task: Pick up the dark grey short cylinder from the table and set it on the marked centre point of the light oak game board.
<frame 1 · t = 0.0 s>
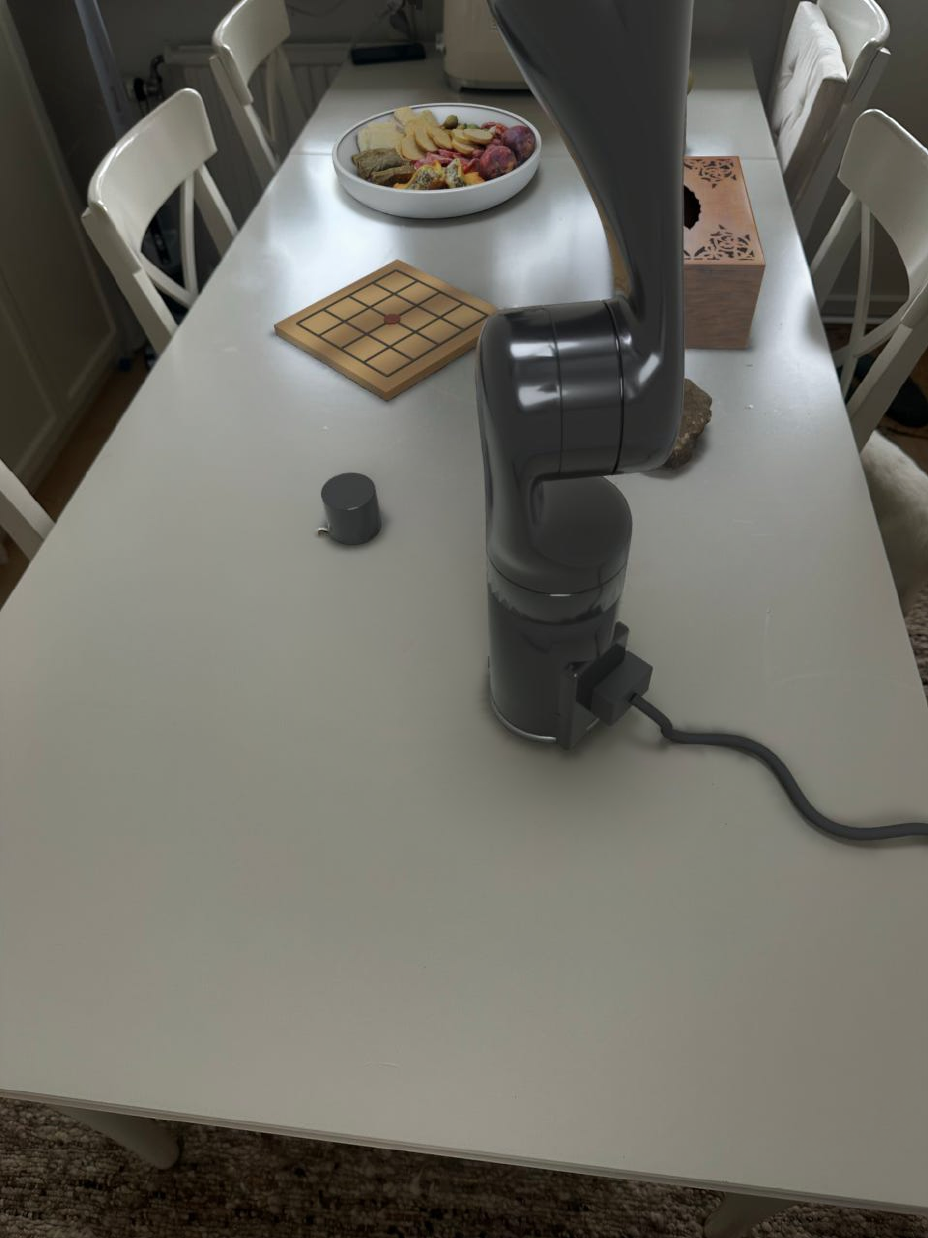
hand: (464, 1, 80), 31 cm above the table, tool tilted 20°, fingers open, 8 cm apart
stone: (630, 435, 89), on the table
board: (393, 328, 103), on the table
dark grey short cylinder: (355, 525, 82), on the table
tissue box cover: (673, 288, 106), on the table
bowl: (438, 180, 127), on the table
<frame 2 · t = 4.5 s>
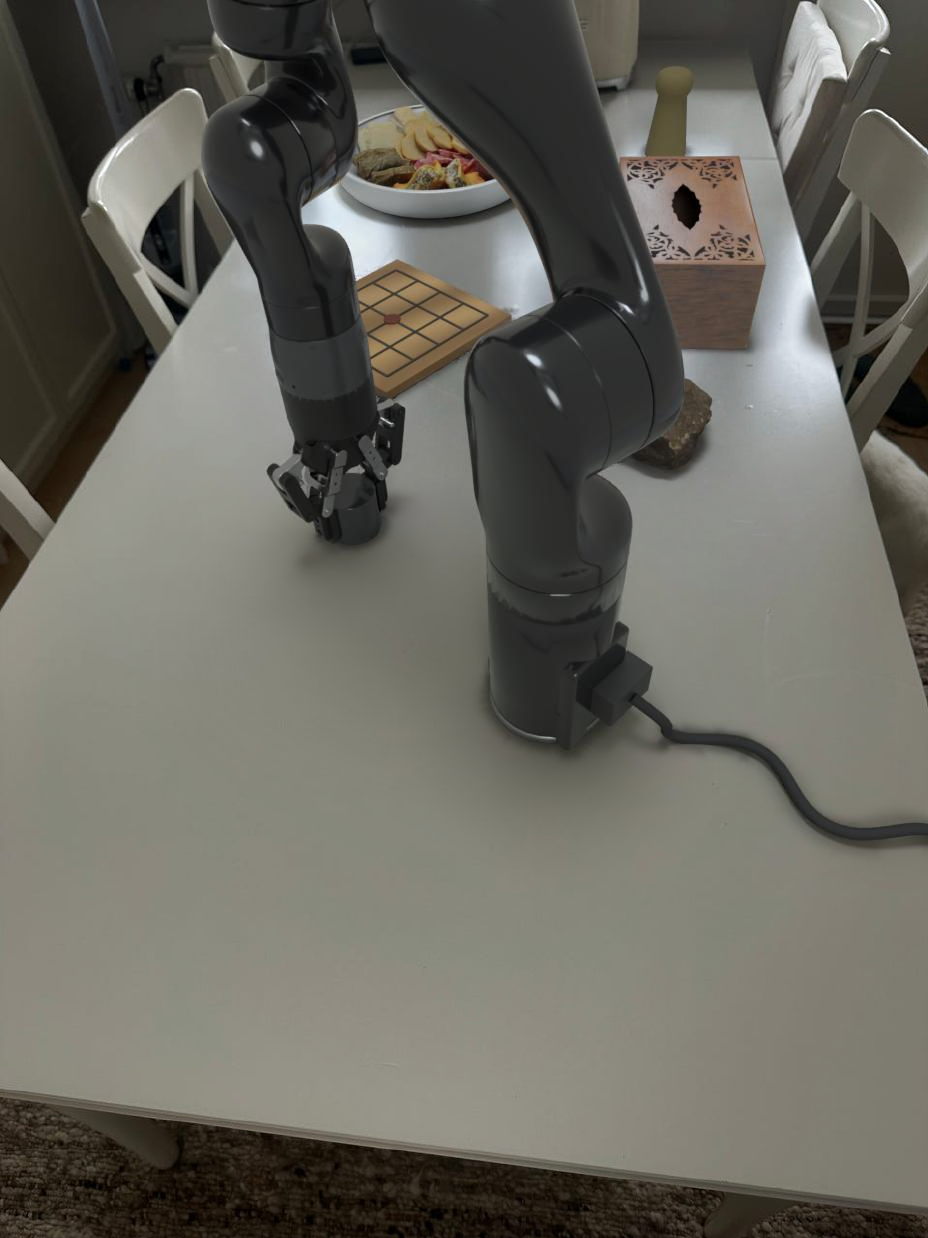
hand: (354, 520, 81), 1 cm above the table, tool pointing down, fingers closed on dark grey short cylinder, 5 cm apart
dark grey short cylinder: (355, 526, 82), on the table, touching gripper
everything else where it was.
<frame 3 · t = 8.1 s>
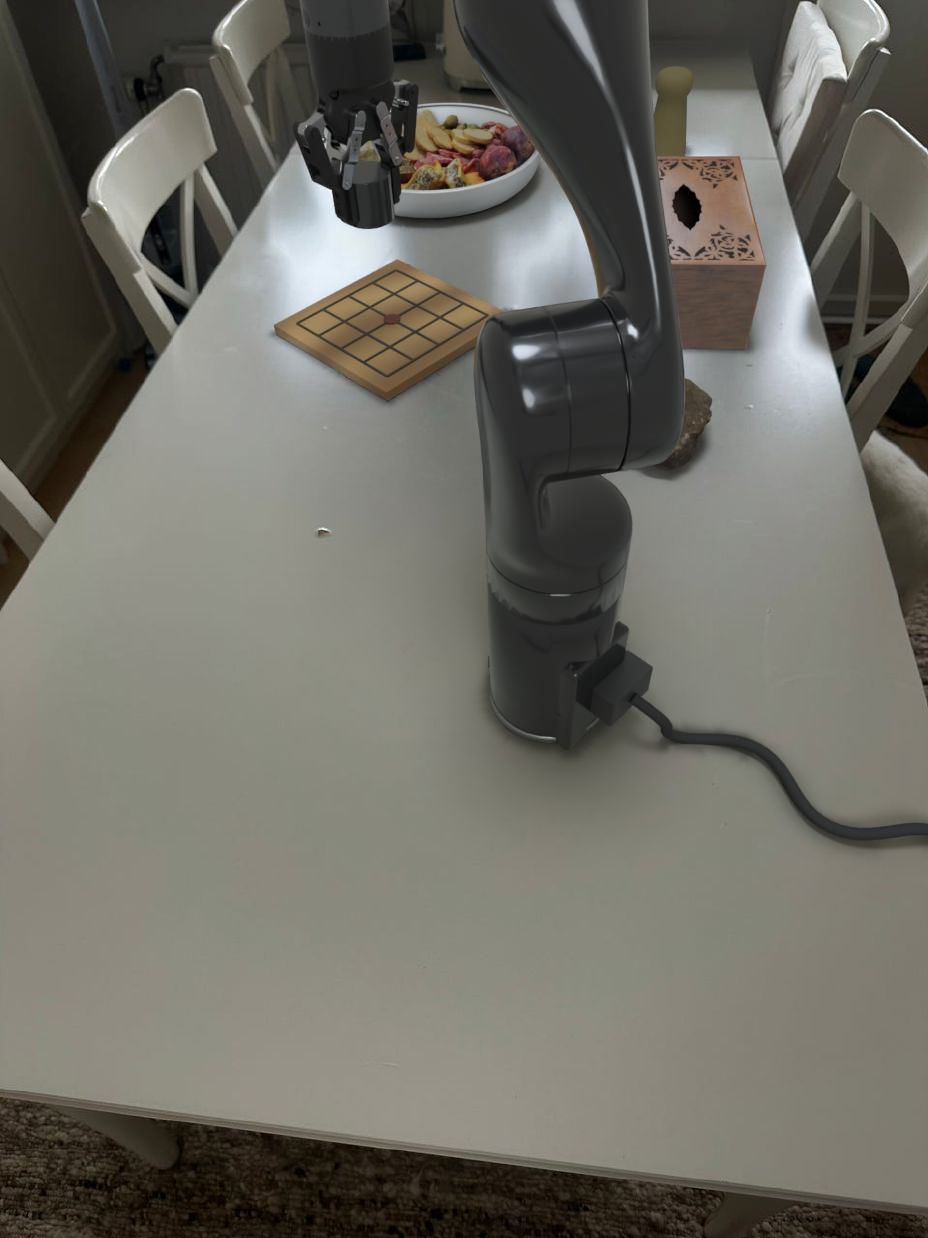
hand: (370, 210, 88), 16 cm above the table, tool pointing down, fingers closed on dark grey short cylinder, 5 cm apart
dark grey short cylinder: (370, 217, 88), point 15 cm above the table, touching gripper
everything else where it was.
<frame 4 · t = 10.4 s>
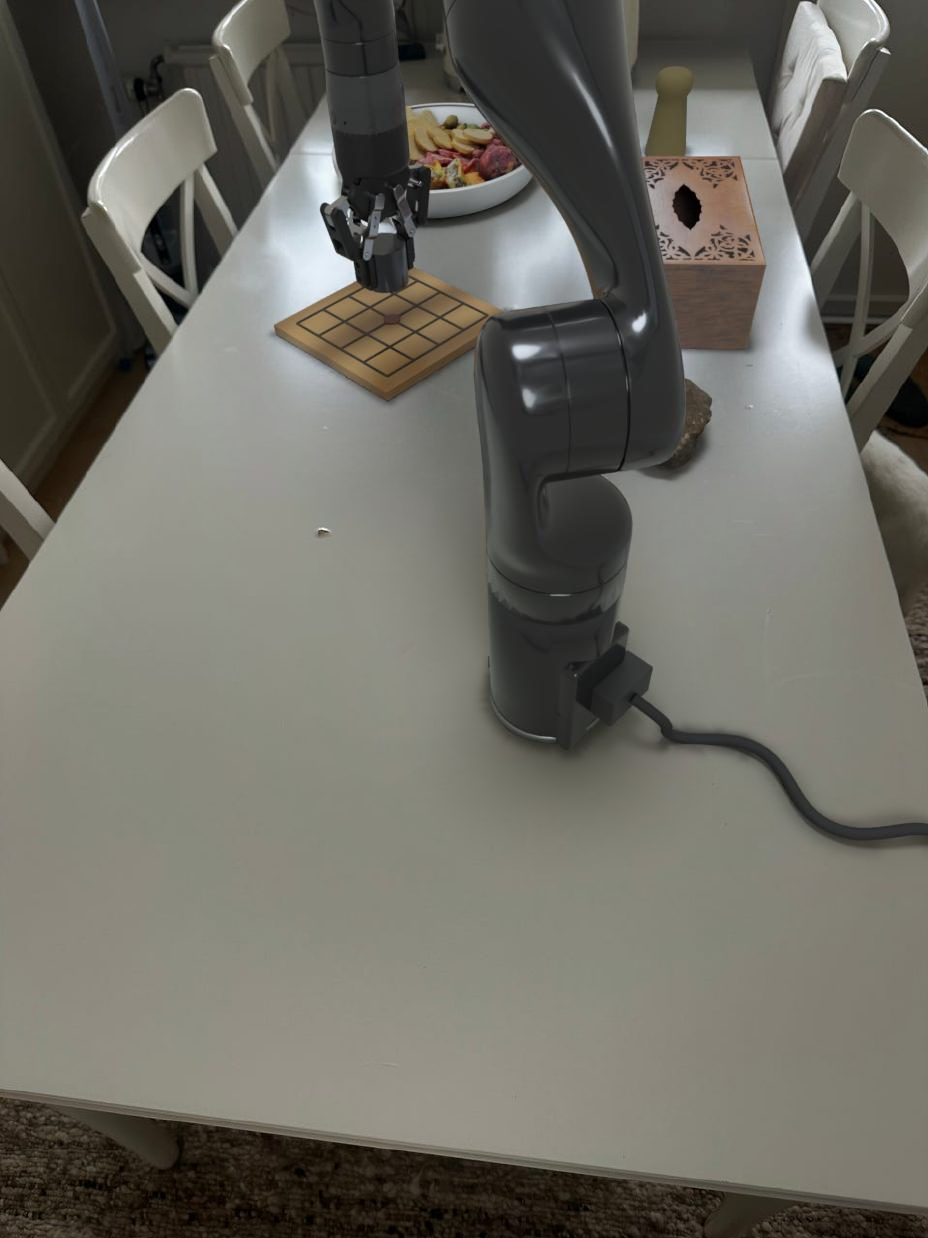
hand: (387, 276, 98), 7 cm above the table, tool pointing down, fingers closed on dark grey short cylinder, 5 cm apart
dark grey short cylinder: (387, 281, 98), point 6 cm above the table, touching gripper
everything else where it was.
when the fingers open (2 cm above the table, at t = 12.0 s): dark grey short cylinder stays where it is, resting on board.
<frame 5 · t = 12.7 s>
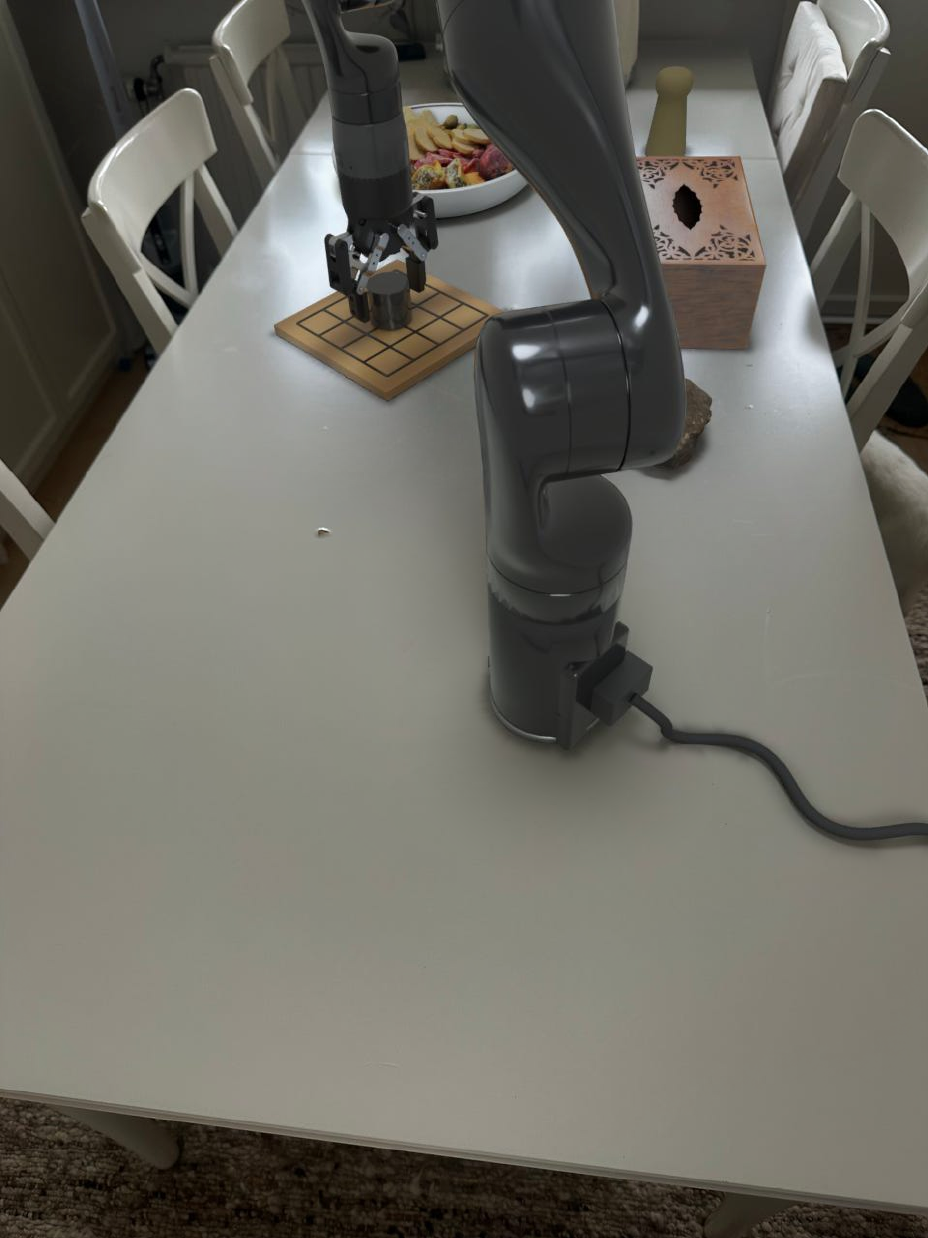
hand: (390, 304, 100), 3 cm above the table, tool pointing down, fingers open, 8 cm apart
dark grey short cylinder: (391, 318, 102), point 1 cm above the table, touching board
everything else where it was.
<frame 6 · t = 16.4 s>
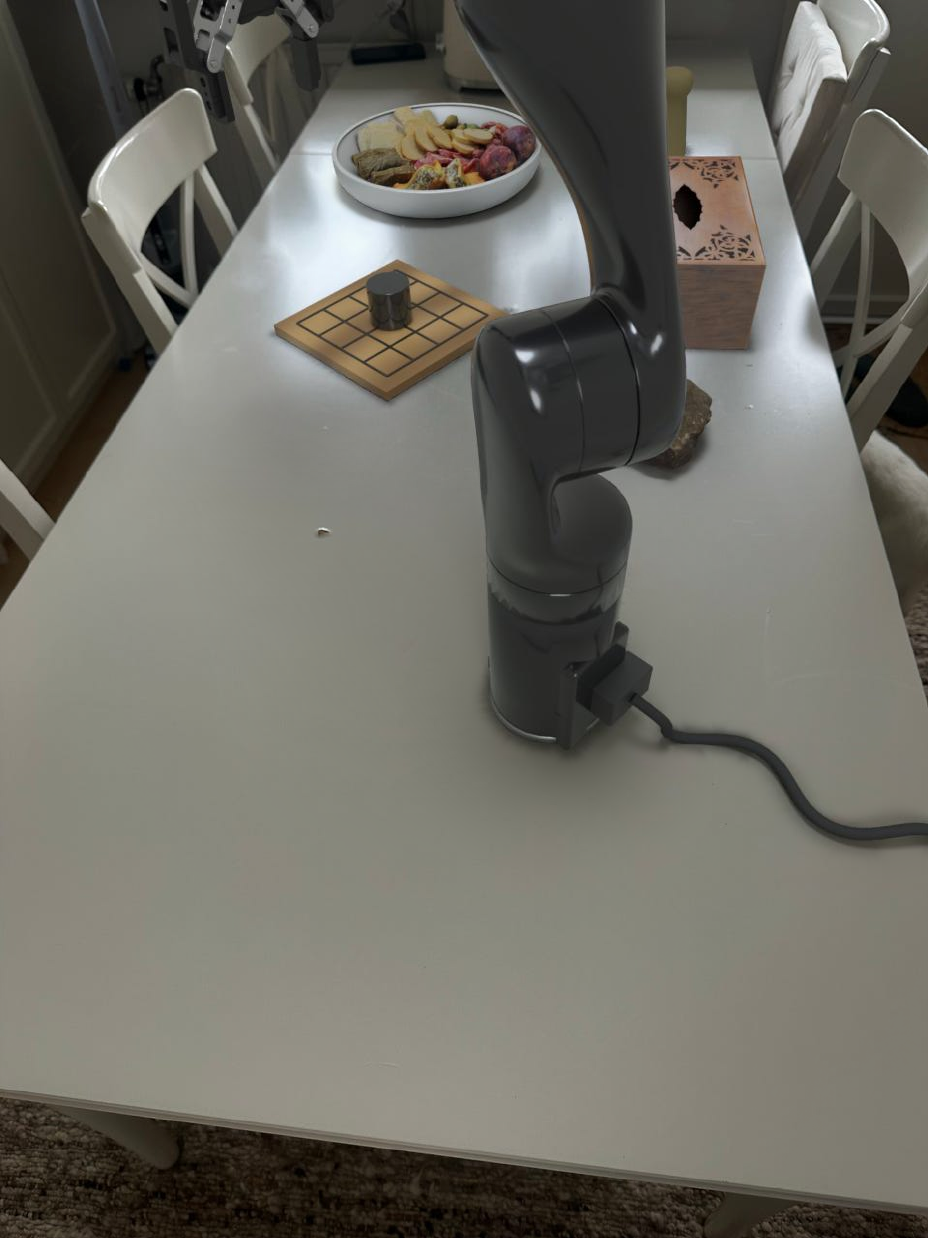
hand: (267, 104, 70), 30 cm above the table, tool pointing down, fingers open, 8 cm apart
nothing on the table moved.
at the end: dark grey short cylinder 0.0 cm off-centre on the board, point 1.4 cm above the board's base; dark grey short cylinder tilted 0°; the gripper is holding nothing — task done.
